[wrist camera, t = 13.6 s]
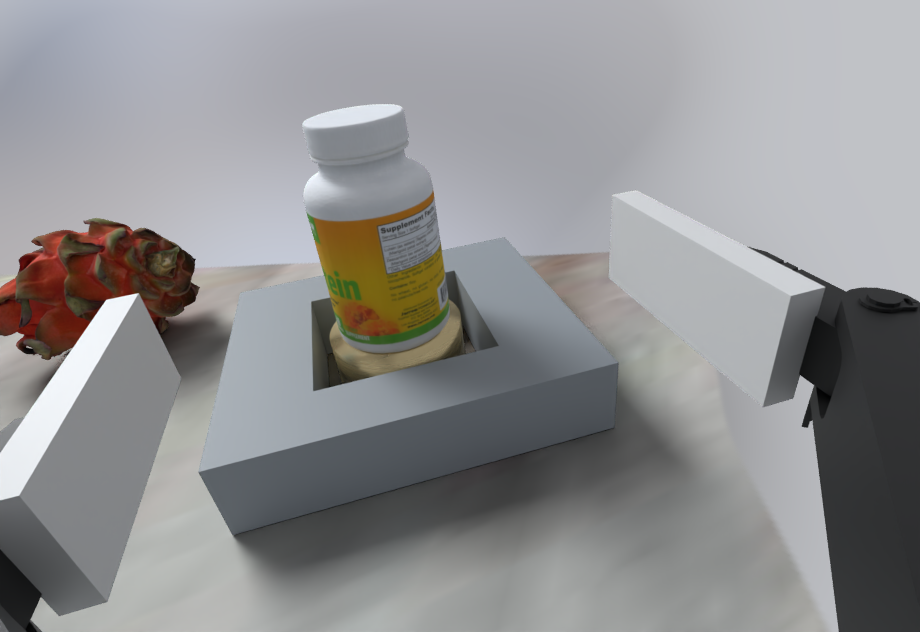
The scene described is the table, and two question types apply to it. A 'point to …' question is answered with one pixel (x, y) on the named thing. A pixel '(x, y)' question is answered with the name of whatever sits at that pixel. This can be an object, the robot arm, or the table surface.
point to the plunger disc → (369, 364)
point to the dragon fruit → (92, 283)
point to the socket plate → (397, 394)
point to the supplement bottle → (375, 229)
